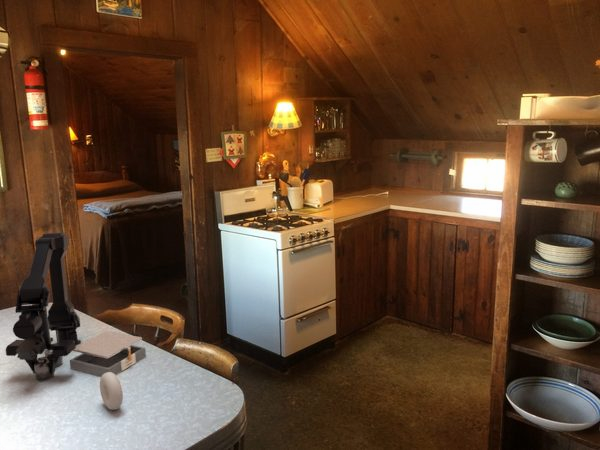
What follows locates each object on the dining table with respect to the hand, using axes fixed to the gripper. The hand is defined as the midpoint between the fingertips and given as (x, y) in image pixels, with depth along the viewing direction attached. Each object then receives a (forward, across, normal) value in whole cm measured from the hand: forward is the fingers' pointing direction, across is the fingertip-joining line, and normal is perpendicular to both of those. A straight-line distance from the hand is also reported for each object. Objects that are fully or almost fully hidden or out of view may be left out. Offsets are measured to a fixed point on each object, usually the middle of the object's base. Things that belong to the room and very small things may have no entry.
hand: (44, 374), depth 157 cm
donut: (+1, +28, -16) cm, 32 cm away
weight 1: (+1, 0, 0) cm, 1 cm away
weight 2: (+1, -1, +8) cm, 8 cm away
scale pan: (-2, +16, +10) cm, 19 cm away
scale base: (+1, +16, +10) cm, 19 cm away
